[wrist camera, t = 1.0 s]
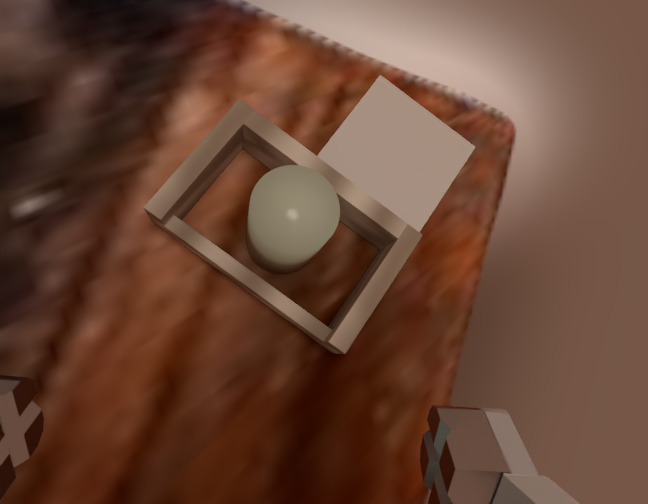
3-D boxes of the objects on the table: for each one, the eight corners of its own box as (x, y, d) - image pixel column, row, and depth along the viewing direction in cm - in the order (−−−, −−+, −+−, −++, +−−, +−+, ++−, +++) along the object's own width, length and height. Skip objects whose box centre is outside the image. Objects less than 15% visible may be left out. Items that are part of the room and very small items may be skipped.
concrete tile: (310, 166, 44) (311, 162, 43) (377, 80, 47) (380, 74, 46) (410, 241, 44) (414, 239, 43) (470, 150, 48) (475, 147, 47)
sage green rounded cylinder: (231, 246, 41) (230, 215, 31) (273, 192, 43) (285, 147, 33) (289, 288, 41) (306, 271, 32) (329, 233, 43) (357, 201, 33)
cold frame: (154, 223, 40) (143, 207, 35) (238, 125, 43) (239, 98, 39) (332, 352, 41) (345, 354, 36) (402, 247, 44) (422, 235, 39)
